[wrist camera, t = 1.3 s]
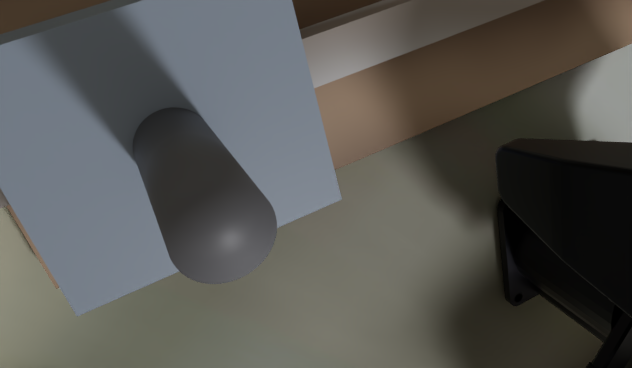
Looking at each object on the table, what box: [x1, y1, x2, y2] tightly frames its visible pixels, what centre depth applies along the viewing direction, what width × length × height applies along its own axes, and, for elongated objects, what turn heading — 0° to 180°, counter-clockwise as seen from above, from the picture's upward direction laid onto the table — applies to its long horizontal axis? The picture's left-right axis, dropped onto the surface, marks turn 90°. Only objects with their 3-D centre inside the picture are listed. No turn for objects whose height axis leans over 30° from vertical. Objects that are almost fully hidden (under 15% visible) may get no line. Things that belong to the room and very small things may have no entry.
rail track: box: [0, 0, 632, 289], centre depth 19 cm, size 9×26×2 cm, turn 104°
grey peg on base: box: [0, 0, 342, 316], centre depth 13 cm, size 7×8×8 cm
